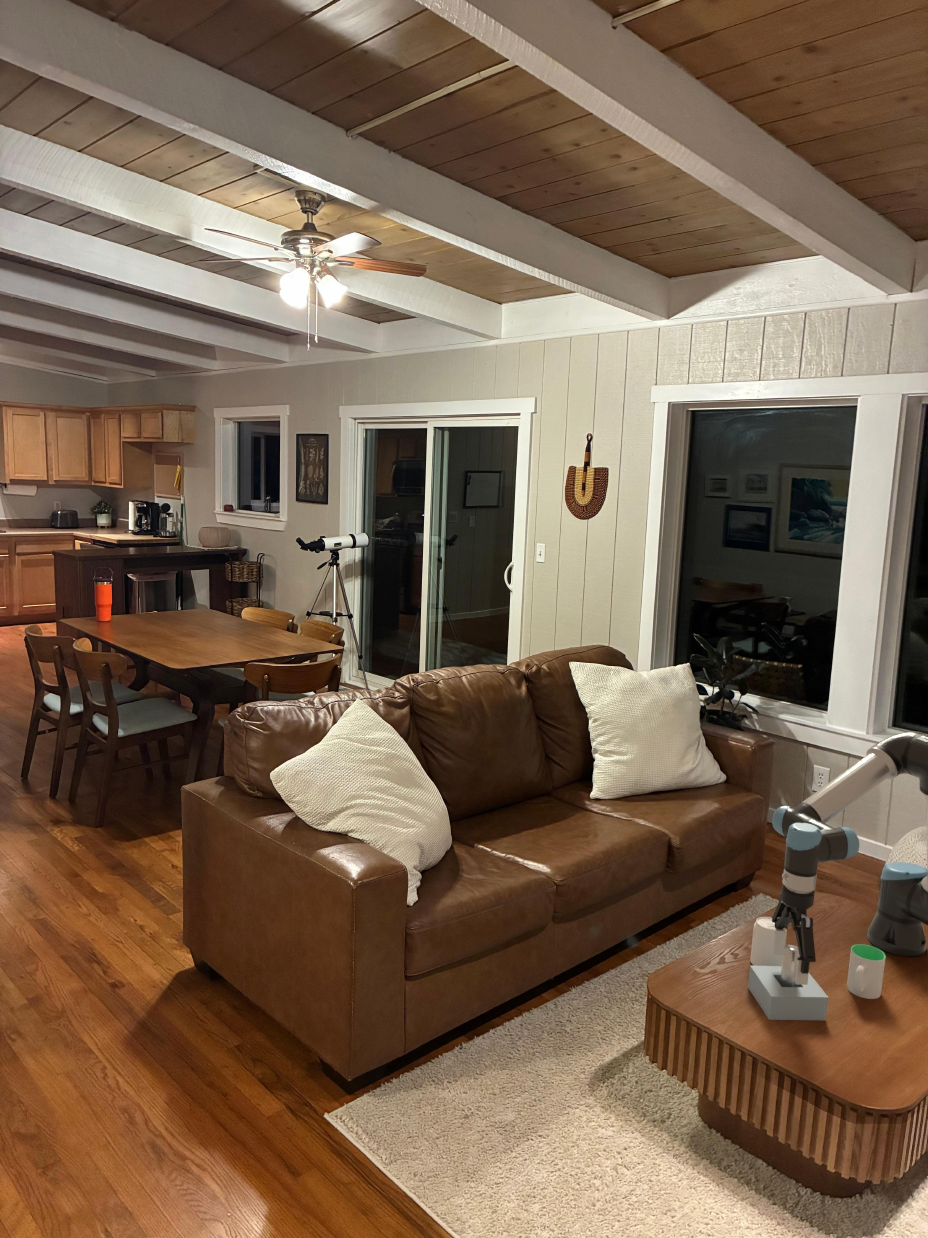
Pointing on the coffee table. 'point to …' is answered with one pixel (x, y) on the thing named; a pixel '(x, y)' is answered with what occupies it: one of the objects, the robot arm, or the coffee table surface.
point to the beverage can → (764, 944)
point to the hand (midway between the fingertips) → (789, 968)
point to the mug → (866, 971)
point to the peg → (789, 966)
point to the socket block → (786, 996)
